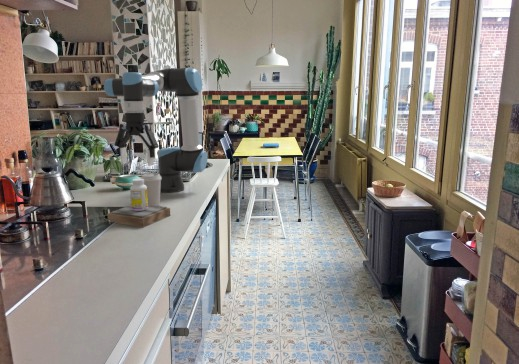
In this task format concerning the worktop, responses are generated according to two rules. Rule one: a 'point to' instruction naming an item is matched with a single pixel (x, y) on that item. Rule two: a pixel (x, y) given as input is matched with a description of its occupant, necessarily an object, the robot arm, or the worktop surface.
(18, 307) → the worktop surface
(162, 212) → the plinth
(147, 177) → the coffee cup
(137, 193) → the supplement bottle
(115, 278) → the worktop surface
